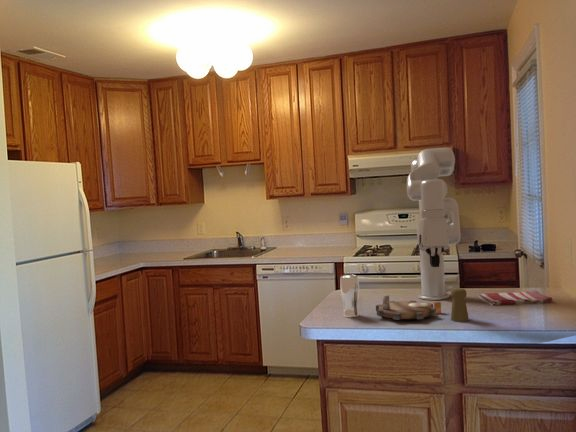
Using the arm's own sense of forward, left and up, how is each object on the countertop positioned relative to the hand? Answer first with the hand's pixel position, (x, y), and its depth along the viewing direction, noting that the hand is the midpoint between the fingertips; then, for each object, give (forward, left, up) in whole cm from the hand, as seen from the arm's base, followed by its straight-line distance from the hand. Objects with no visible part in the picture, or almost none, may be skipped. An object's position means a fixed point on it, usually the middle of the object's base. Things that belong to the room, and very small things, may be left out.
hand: (435, 266), depth 176 cm
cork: (-5, +5, -19) cm, 20 cm away
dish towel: (-43, -7, -19) cm, 48 cm away
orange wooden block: (+3, -10, -19) cm, 21 cm away
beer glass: (+23, -22, -19) cm, 36 cm away
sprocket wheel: (+7, -10, -17) cm, 21 cm away
